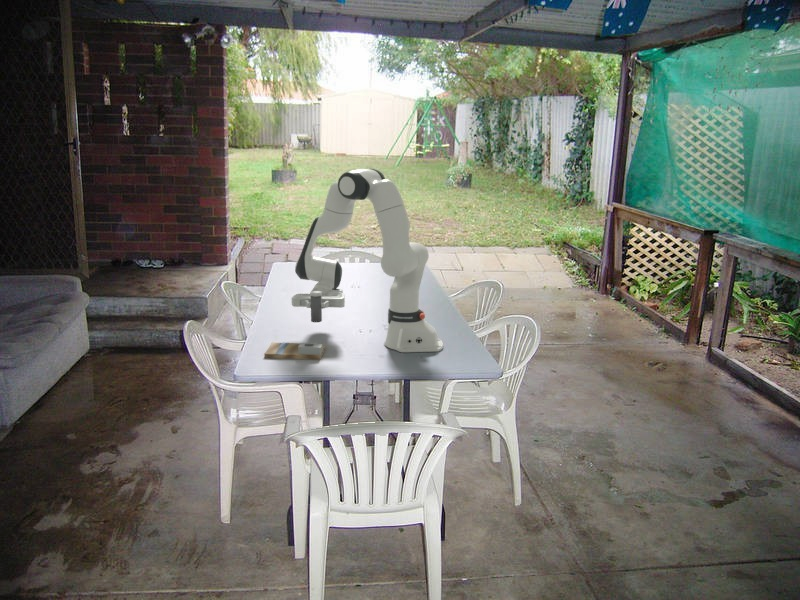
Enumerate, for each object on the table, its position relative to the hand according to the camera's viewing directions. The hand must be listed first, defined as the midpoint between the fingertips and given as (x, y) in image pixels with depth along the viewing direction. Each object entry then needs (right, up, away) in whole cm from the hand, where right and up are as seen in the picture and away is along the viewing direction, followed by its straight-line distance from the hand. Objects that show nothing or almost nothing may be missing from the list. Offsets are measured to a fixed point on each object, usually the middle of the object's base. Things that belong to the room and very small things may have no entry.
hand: (315, 306), depth 254 cm
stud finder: (-1, -17, -9) cm, 19 cm away
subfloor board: (-7, -17, -5) cm, 19 cm away
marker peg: (0, -6, +2) cm, 6 cm away
